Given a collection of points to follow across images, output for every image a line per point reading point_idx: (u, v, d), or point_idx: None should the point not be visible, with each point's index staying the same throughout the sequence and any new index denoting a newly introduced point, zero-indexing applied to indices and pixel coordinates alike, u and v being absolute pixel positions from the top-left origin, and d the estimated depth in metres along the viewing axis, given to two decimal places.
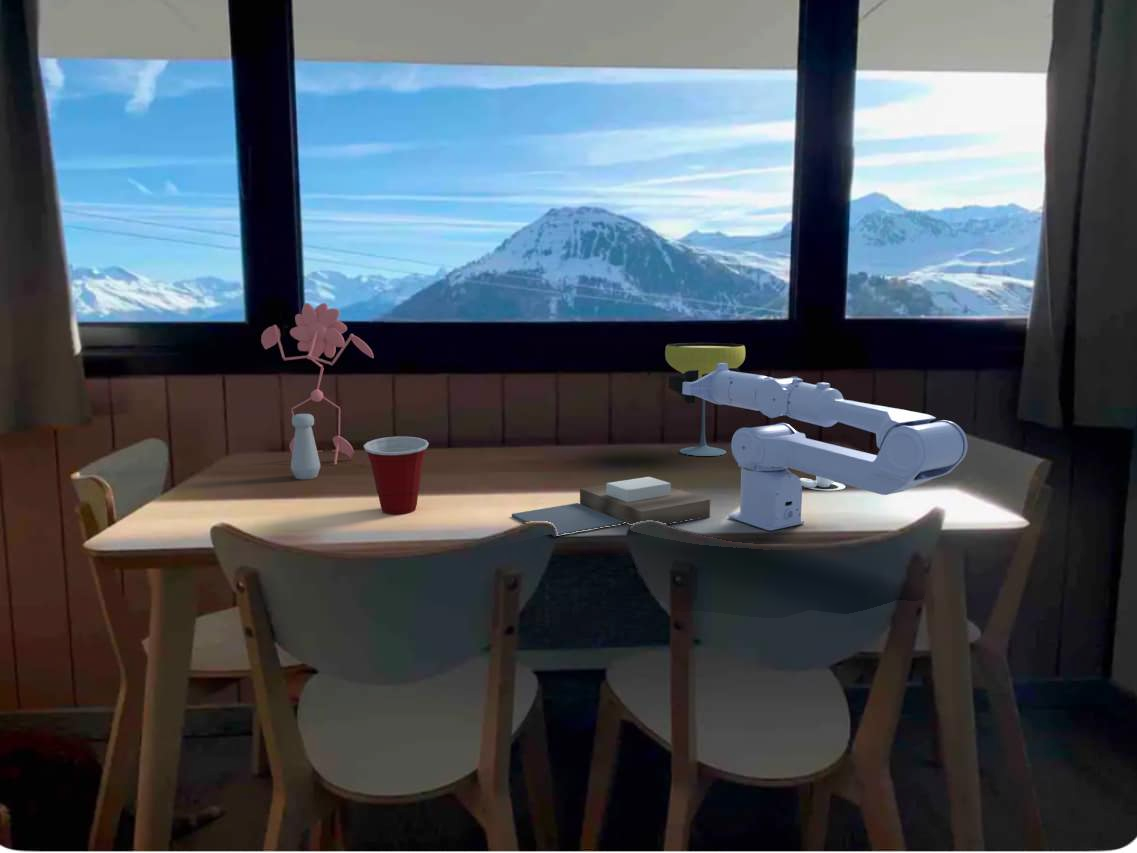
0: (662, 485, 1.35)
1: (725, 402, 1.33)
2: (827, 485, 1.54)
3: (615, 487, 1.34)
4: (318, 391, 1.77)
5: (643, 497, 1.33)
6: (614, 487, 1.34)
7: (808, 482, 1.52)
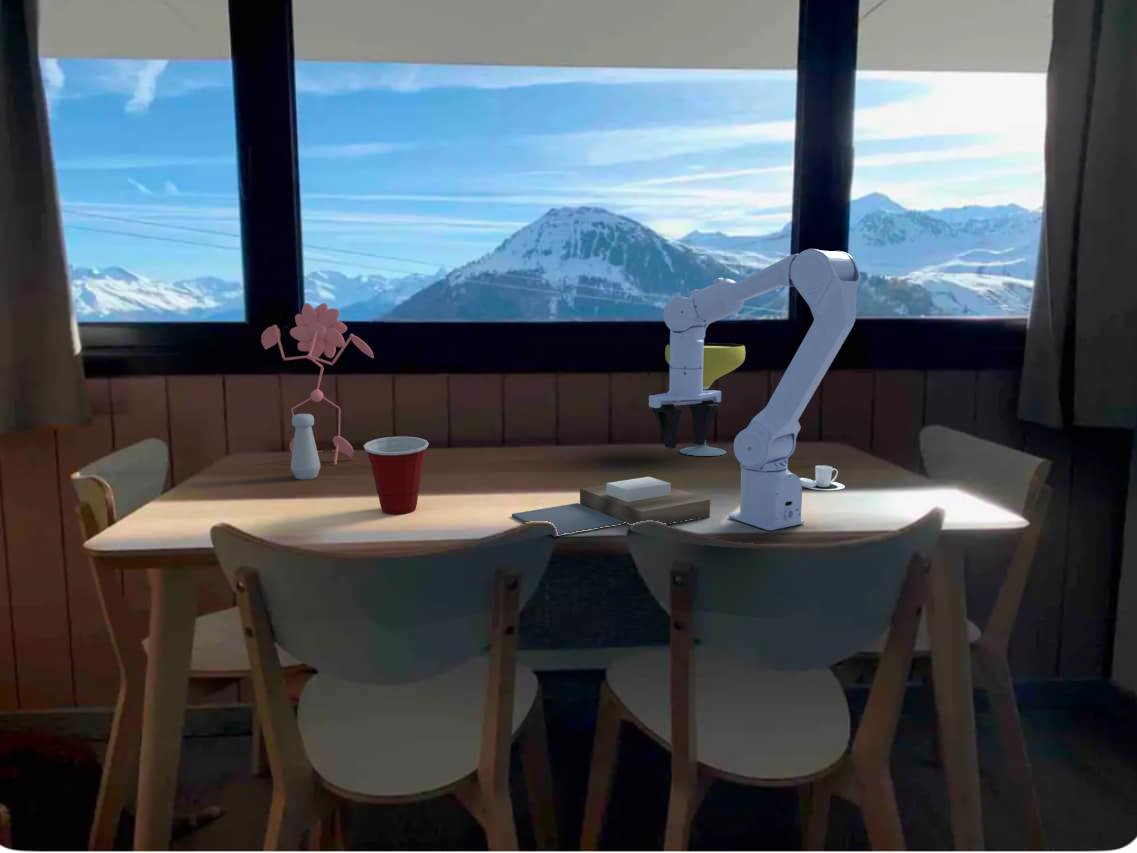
0: (662, 485, 1.35)
1: (686, 378, 1.35)
2: (826, 485, 1.54)
3: (615, 487, 1.34)
4: (318, 391, 1.77)
5: (643, 497, 1.33)
6: (614, 487, 1.34)
7: (807, 482, 1.52)
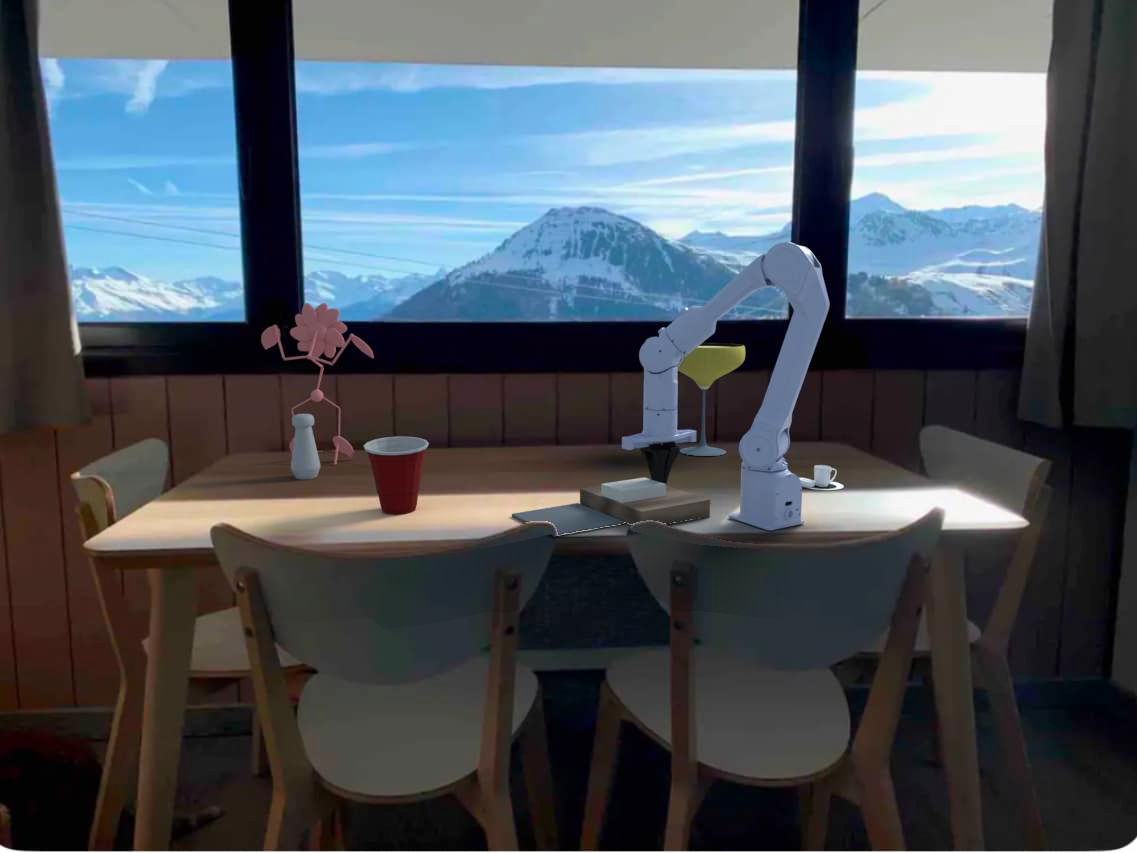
0: (657, 486, 1.34)
1: (659, 420, 1.34)
2: (825, 485, 1.54)
3: (610, 488, 1.33)
4: (318, 391, 1.77)
5: (638, 498, 1.32)
6: (609, 488, 1.33)
7: (806, 482, 1.53)
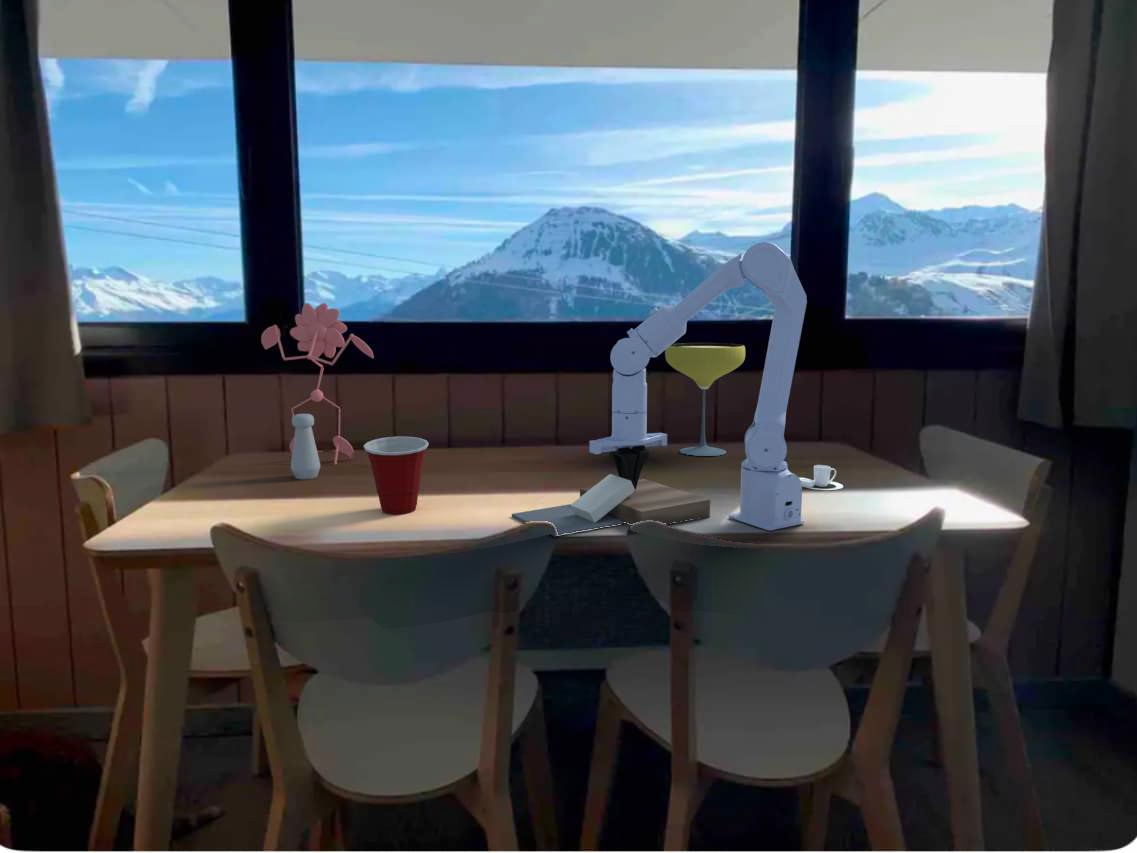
0: (623, 487, 1.30)
1: (628, 423, 1.30)
2: (825, 485, 1.54)
3: (579, 509, 1.30)
4: (318, 391, 1.77)
5: (609, 509, 1.29)
6: (578, 509, 1.31)
7: (806, 482, 1.53)
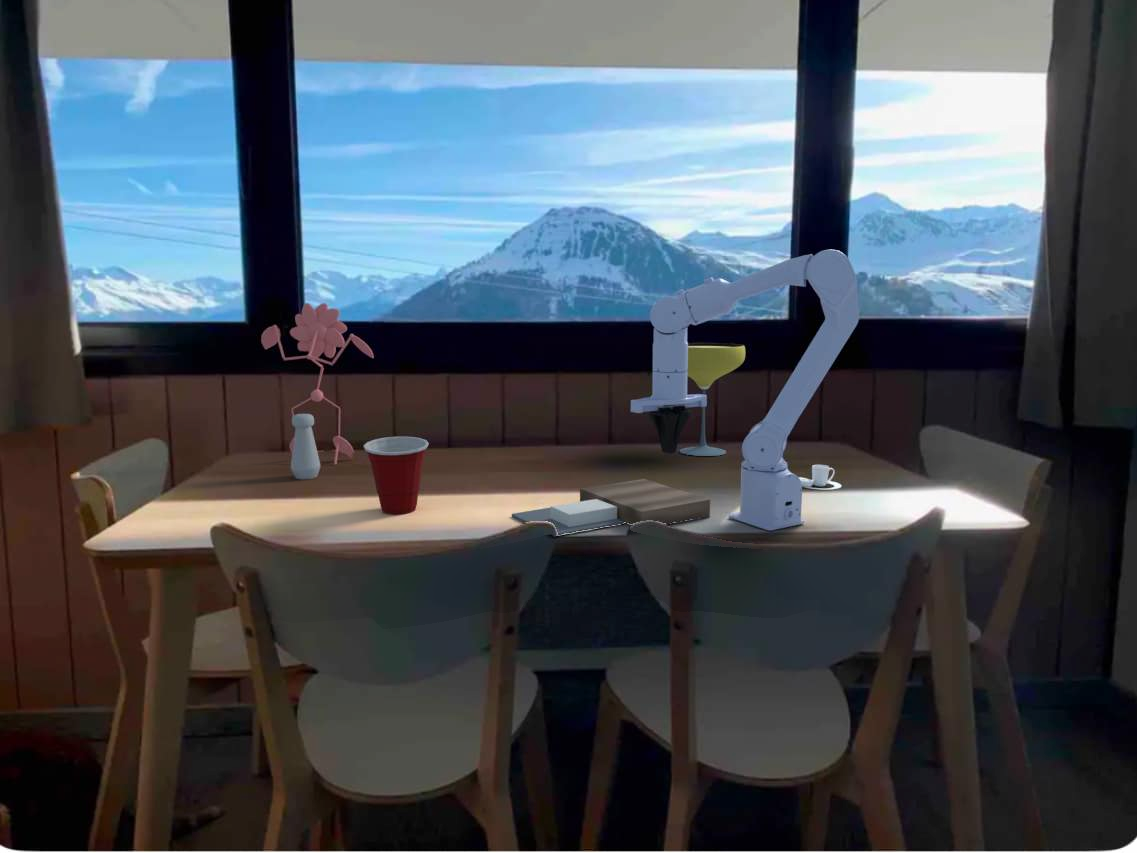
0: (608, 509, 1.30)
1: (669, 382, 1.30)
2: (823, 484, 1.54)
3: (558, 511, 1.29)
4: (318, 391, 1.77)
5: (587, 521, 1.28)
6: (558, 511, 1.29)
7: (804, 481, 1.53)
